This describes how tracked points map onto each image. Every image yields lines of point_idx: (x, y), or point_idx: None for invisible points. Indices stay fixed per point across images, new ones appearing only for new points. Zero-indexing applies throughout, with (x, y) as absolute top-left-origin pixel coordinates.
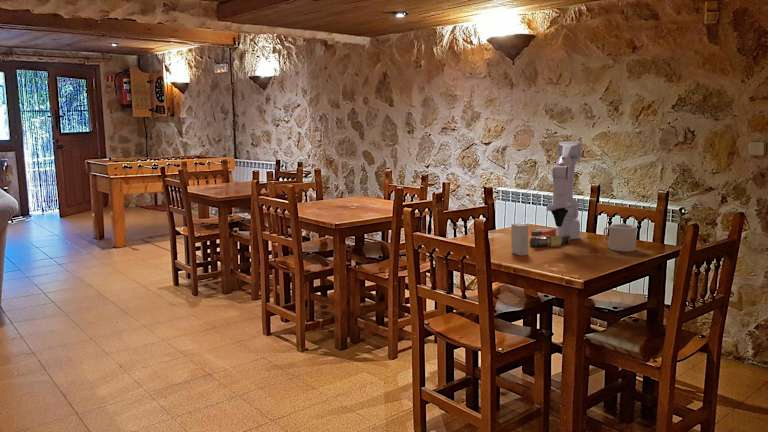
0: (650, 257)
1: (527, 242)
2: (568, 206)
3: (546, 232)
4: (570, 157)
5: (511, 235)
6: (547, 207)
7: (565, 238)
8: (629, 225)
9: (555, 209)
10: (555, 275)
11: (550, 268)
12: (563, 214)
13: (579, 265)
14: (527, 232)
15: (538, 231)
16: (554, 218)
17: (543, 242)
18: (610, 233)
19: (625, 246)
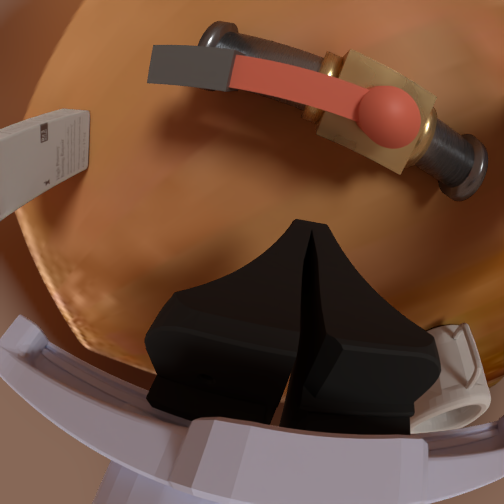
0: None
1: (47, 188)
2: (472, 450)
3: (291, 100)
4: None
5: (3, 128)
6: (4, 356)
7: (438, 176)
8: (470, 419)
9: (148, 405)
10: (64, 314)
11: (73, 293)
12: (288, 390)
13: (142, 332)
14: (13, 209)
15: (191, 81)
16: (261, 257)
17: (265, 96)
18: None
19: None
